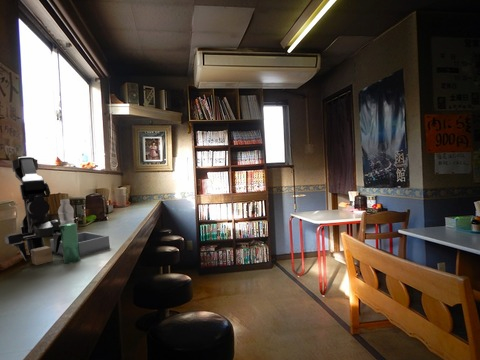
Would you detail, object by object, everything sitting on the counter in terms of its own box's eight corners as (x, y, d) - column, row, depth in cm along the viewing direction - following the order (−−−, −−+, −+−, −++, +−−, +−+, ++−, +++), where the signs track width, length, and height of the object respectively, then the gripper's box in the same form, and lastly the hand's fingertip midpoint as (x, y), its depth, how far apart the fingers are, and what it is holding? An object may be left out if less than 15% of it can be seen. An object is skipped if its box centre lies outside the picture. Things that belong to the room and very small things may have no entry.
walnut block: (32, 263, 105) (30, 249, 105) (48, 259, 109) (46, 246, 108) (36, 265, 101) (34, 251, 101) (52, 261, 105) (51, 247, 105)
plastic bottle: (70, 243, 134) (65, 199, 133) (57, 243, 135) (52, 200, 134) (80, 239, 140) (76, 198, 139) (68, 239, 141) (64, 199, 141)
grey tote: (51, 251, 120) (50, 239, 120) (86, 242, 131) (85, 231, 131) (72, 258, 106) (71, 244, 106) (110, 248, 117) (108, 235, 117)
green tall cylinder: (61, 262, 102) (57, 225, 102) (77, 258, 106) (73, 222, 106) (67, 264, 99) (63, 226, 98) (82, 260, 103) (78, 223, 102)
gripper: (10, 220, 92) (16, 269, 93) (73, 210, 106) (78, 252, 107) (1, 218, 99) (7, 263, 100) (62, 209, 113) (66, 249, 114)
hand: (41, 257), depth 105 cm, fingers open, 9 cm apart
